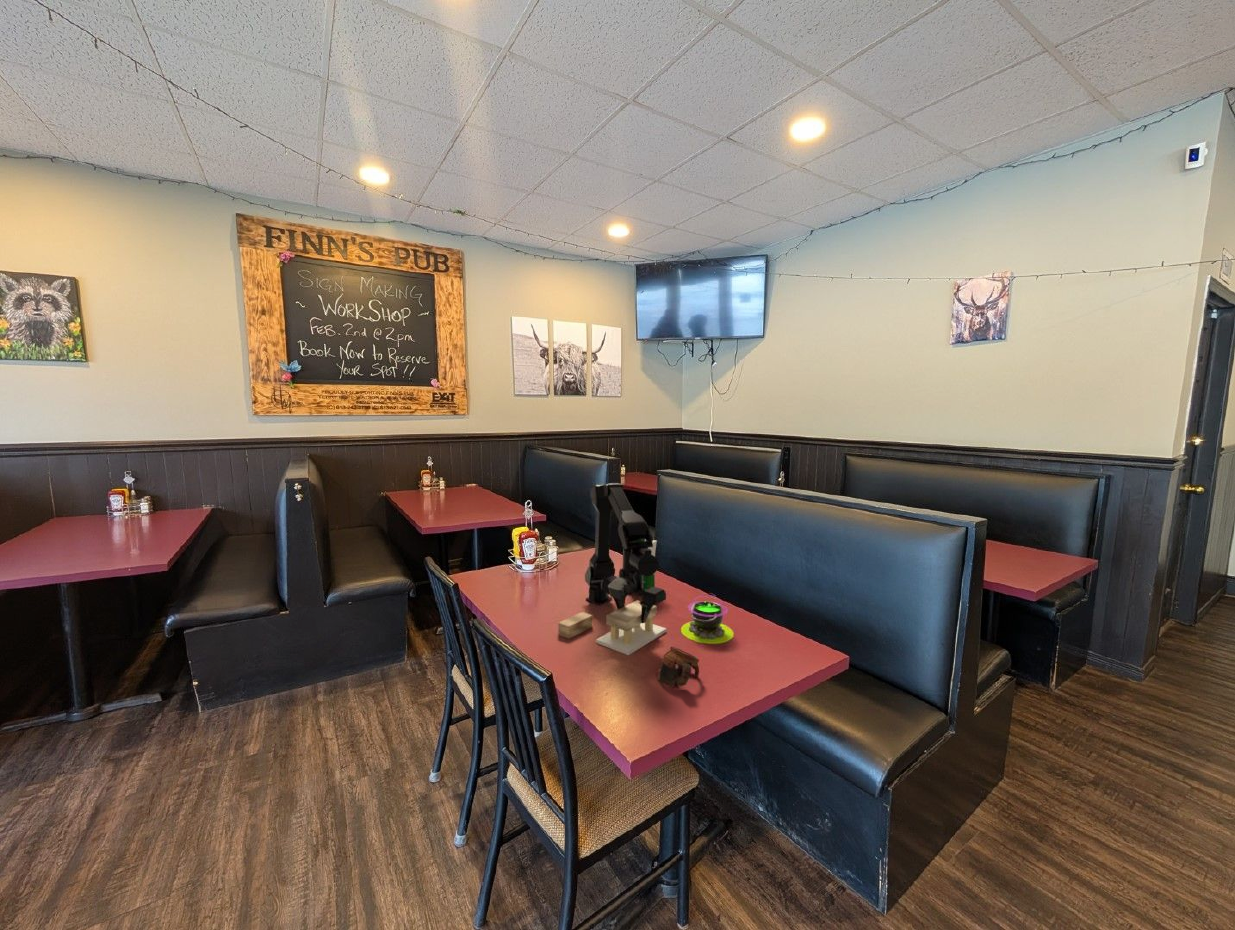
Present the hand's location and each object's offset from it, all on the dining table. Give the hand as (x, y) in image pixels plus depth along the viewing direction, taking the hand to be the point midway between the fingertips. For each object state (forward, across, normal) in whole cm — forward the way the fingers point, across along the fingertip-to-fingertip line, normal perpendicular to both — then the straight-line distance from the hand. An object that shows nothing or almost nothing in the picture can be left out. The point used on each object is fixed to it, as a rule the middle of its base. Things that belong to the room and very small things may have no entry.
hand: (632, 619), depth 141 cm
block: (+5, -15, -7) cm, 17 cm away
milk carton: (+6, -19, +31) cm, 37 cm away
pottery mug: (+6, +22, -11) cm, 25 cm away
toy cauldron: (+6, +15, +16) cm, 23 cm away
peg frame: (+5, 0, 0) cm, 5 cm away
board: (0, 0, 0) cm, 0 cm away
